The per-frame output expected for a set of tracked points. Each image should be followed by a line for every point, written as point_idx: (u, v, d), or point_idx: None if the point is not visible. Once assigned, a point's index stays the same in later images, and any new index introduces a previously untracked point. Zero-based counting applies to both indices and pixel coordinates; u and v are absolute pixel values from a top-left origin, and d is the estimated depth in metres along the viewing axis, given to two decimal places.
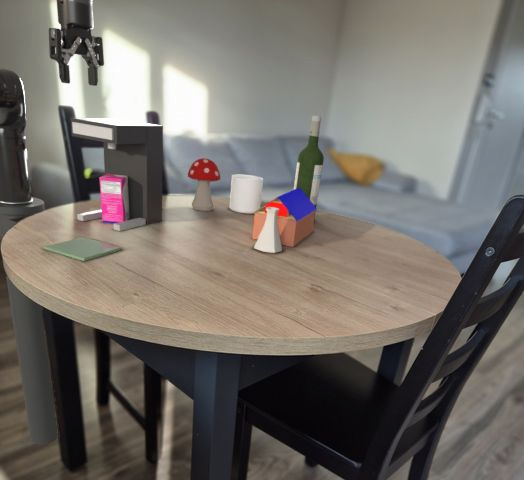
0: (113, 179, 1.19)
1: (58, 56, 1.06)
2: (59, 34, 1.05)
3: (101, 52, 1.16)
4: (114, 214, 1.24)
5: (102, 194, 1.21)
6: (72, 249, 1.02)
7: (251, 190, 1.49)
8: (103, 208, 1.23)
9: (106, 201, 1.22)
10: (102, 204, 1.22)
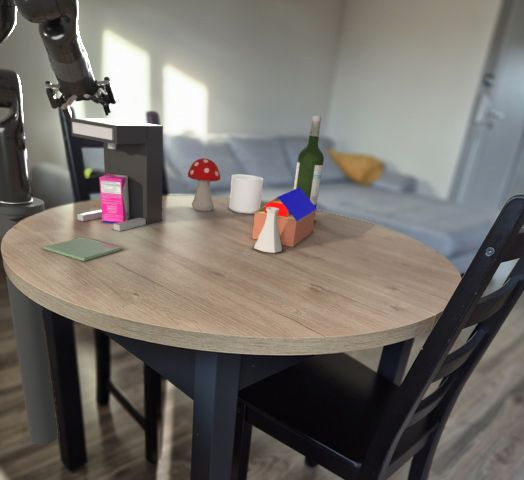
0: (113, 179, 1.19)
1: (52, 107, 1.09)
2: (50, 94, 1.05)
3: (111, 95, 1.08)
4: (114, 214, 1.24)
5: (102, 194, 1.21)
6: (72, 249, 1.02)
7: (251, 190, 1.49)
8: (103, 208, 1.23)
9: (106, 201, 1.22)
10: (102, 204, 1.22)
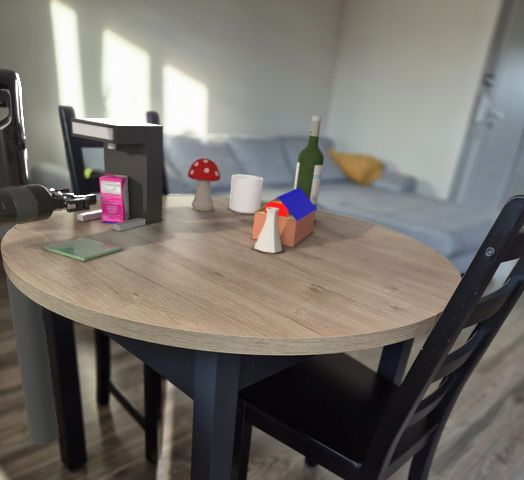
0: (113, 179, 1.19)
1: None
2: None
3: None
4: (114, 214, 1.24)
5: (102, 194, 1.21)
6: (72, 249, 1.02)
7: (251, 190, 1.49)
8: (103, 208, 1.23)
9: (106, 201, 1.22)
10: (102, 204, 1.22)
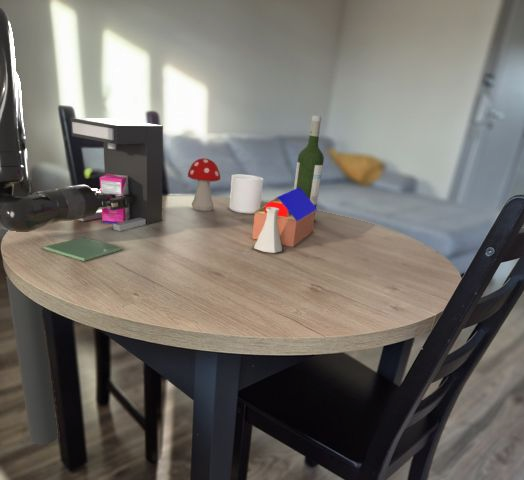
0: (113, 179, 1.20)
1: None
2: None
3: None
4: (114, 214, 1.24)
5: None
6: (72, 249, 1.02)
7: (251, 190, 1.49)
8: None
9: None
10: None
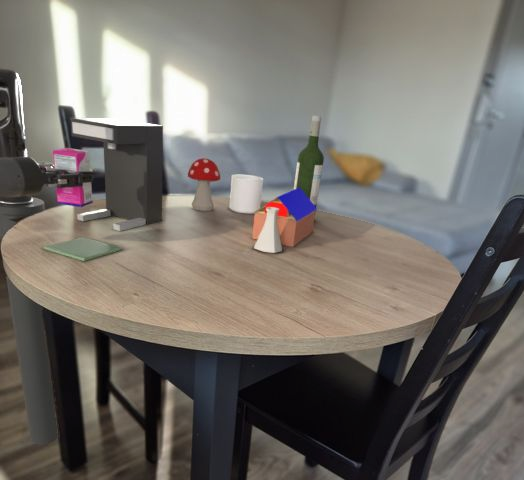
0: (67, 153, 1.03)
1: None
2: None
3: None
4: (70, 194, 1.07)
5: None
6: (72, 249, 1.02)
7: (251, 190, 1.49)
8: None
9: None
10: None
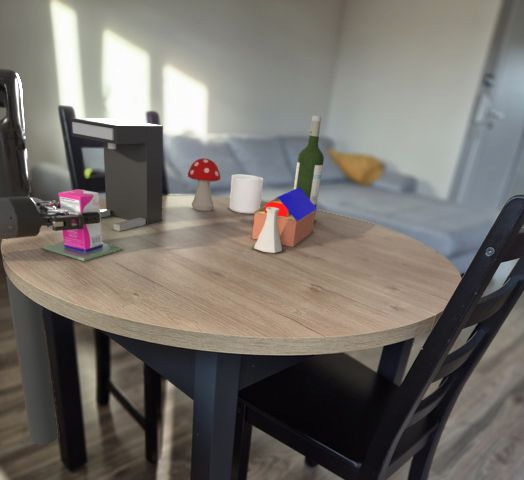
0: (72, 196, 0.96)
1: None
2: None
3: None
4: (75, 238, 1.00)
5: None
6: (72, 249, 1.02)
7: (251, 190, 1.49)
8: (64, 230, 1.00)
9: None
10: None
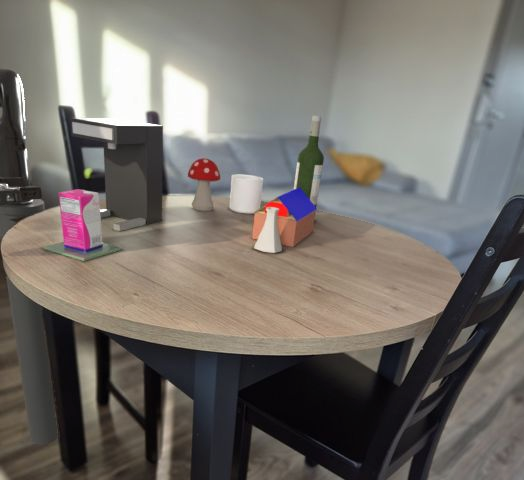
0: (72, 196, 0.96)
1: None
2: None
3: None
4: (75, 238, 1.00)
5: (62, 213, 0.98)
6: (72, 249, 1.02)
7: (251, 190, 1.49)
8: (64, 230, 1.00)
9: (66, 222, 0.99)
10: (63, 225, 1.00)
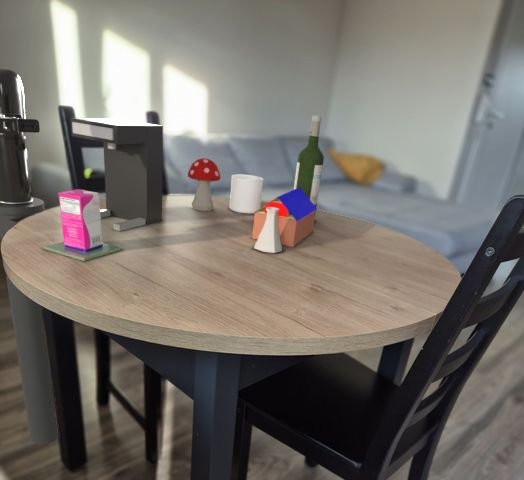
0: (72, 196, 0.96)
1: None
2: None
3: (1, 133, 0.84)
4: (75, 238, 1.00)
5: (62, 213, 0.98)
6: (72, 249, 1.02)
7: (251, 190, 1.49)
8: (64, 230, 1.00)
9: (66, 222, 0.99)
10: (63, 225, 1.00)
